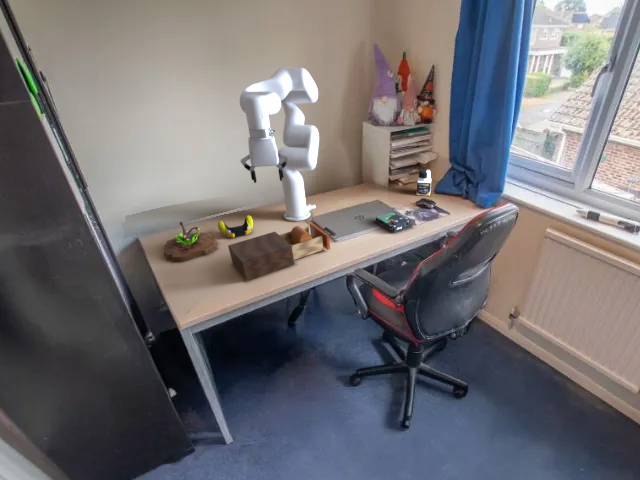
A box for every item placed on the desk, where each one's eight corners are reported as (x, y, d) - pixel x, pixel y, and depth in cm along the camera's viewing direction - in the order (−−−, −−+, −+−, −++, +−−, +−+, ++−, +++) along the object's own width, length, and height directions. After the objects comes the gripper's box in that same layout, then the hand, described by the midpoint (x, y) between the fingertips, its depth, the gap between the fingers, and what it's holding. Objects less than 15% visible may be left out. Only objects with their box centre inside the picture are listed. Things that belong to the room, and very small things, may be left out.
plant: (209, 233, 168) (202, 209, 162) (221, 251, 154) (214, 225, 148) (160, 245, 159) (151, 221, 153) (168, 265, 146) (159, 239, 139)
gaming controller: (219, 231, 169) (222, 241, 162) (216, 220, 166) (219, 229, 159) (253, 224, 174) (257, 233, 167) (250, 213, 171) (255, 221, 164)
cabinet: (278, 249, 154) (274, 231, 149) (294, 264, 144) (291, 245, 139) (232, 264, 145) (227, 245, 141) (246, 281, 135) (242, 261, 131)
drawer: (323, 233, 163) (322, 220, 159) (340, 245, 154) (339, 231, 150) (275, 249, 153) (272, 235, 149) (290, 263, 143) (287, 248, 140)
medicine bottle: (416, 195, 200) (417, 172, 193) (417, 190, 206) (418, 168, 199) (429, 195, 199) (431, 172, 192) (430, 190, 205) (432, 168, 198)
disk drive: (412, 228, 169) (392, 216, 179) (413, 222, 167) (393, 210, 177) (394, 234, 164) (374, 221, 174) (394, 228, 162) (374, 216, 172)
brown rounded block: (303, 241, 155) (301, 224, 151) (313, 248, 150) (311, 231, 146) (292, 244, 153) (290, 227, 149) (301, 252, 148) (299, 235, 143)
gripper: (284, 129, 140) (291, 176, 149) (236, 132, 137) (245, 179, 147) (284, 134, 134) (291, 182, 143) (234, 137, 131) (244, 185, 141)
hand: (268, 180), depth 145 cm, fingers open, 9 cm apart
